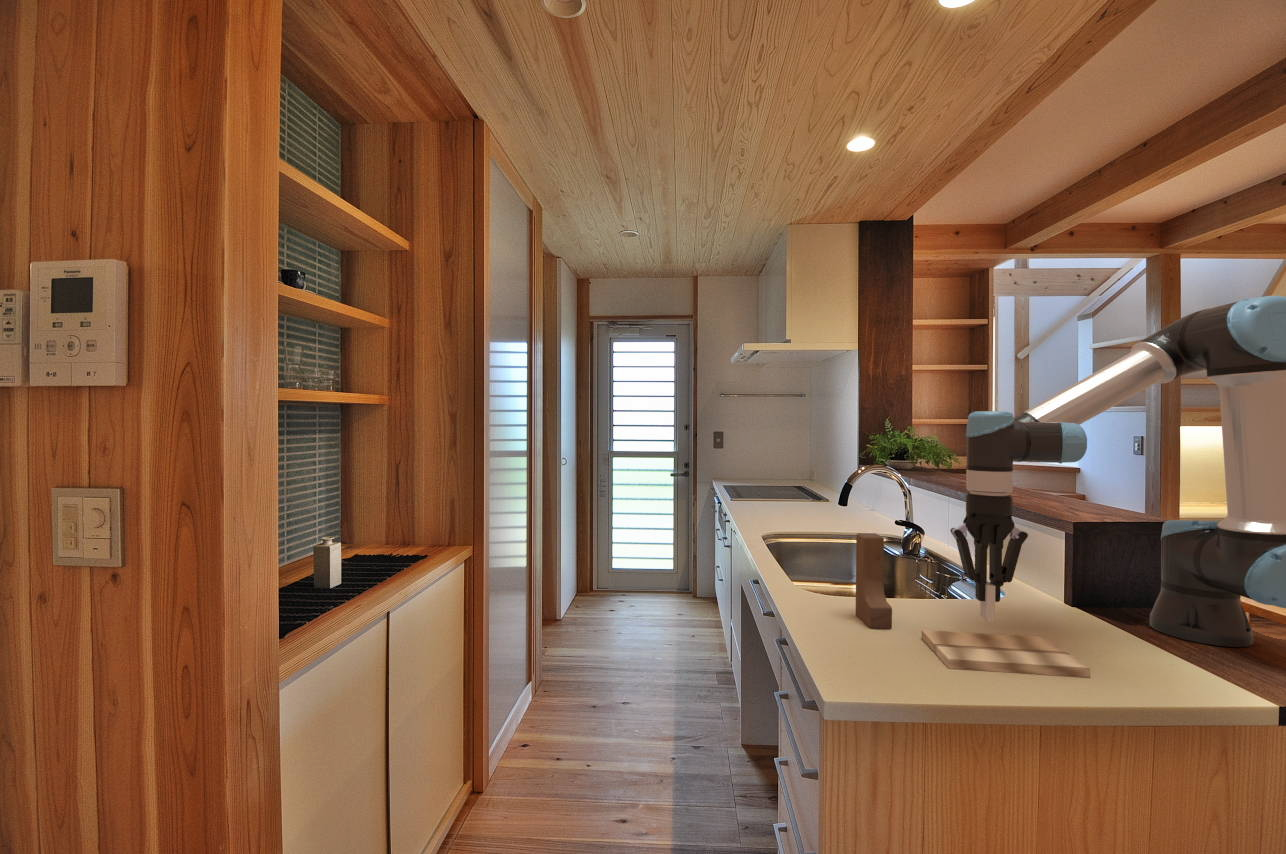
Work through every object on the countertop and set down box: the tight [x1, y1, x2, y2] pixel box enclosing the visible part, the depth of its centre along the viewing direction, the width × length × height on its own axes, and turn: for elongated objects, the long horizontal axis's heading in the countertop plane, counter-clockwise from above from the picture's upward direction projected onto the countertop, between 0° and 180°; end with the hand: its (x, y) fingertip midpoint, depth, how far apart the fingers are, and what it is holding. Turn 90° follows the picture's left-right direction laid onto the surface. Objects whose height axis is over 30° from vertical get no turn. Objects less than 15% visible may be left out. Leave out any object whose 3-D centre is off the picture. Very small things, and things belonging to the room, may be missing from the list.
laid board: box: [934, 645, 1091, 679], centre depth 101 cm, size 22×6×2 cm, turn 82°
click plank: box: [921, 629, 1067, 653], centre depth 108 cm, size 22×7×2 cm, turn 82°
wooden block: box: [855, 532, 893, 630], centre depth 123 cm, size 9×4×18 cm, turn 179°
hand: (987, 618), depth 109 cm, fingers closed
